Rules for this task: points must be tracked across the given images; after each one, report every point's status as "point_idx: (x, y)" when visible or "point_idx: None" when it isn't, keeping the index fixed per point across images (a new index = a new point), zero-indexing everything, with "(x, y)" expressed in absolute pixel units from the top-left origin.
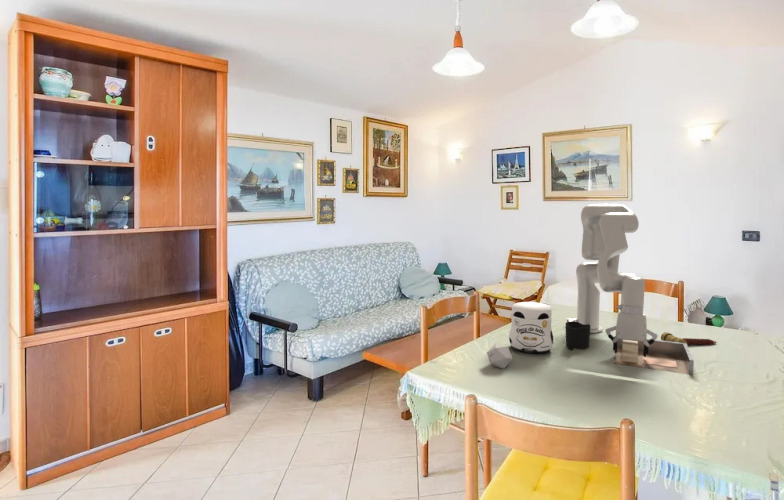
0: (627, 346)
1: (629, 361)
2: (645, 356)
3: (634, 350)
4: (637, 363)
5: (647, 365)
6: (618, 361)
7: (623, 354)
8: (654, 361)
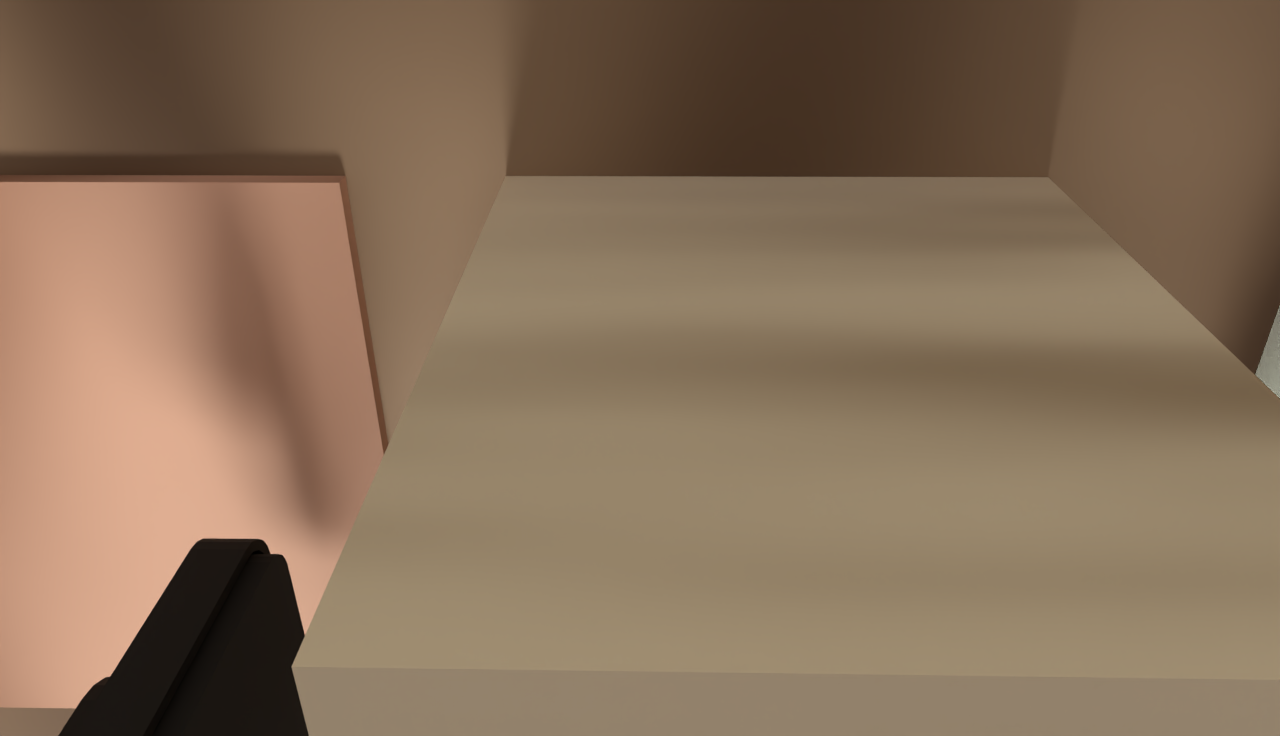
0: (1142, 632)
1: (787, 182)
2: (215, 540)
3: (602, 452)
4: (502, 99)
5: (130, 12)
6: (1223, 29)
7: (1118, 297)
8: (23, 491)
